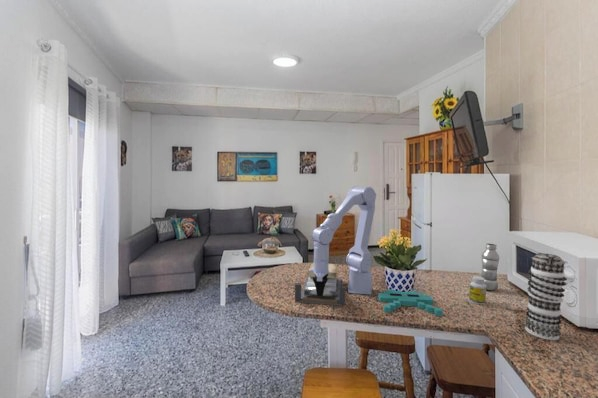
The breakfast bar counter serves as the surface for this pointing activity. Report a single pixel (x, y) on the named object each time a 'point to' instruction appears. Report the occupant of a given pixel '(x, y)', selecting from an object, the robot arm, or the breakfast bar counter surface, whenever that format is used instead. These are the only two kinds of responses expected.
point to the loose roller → (328, 293)
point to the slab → (331, 268)
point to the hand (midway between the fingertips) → (320, 292)
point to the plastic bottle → (490, 267)
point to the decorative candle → (545, 296)
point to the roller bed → (330, 284)
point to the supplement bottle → (477, 290)
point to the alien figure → (407, 301)
